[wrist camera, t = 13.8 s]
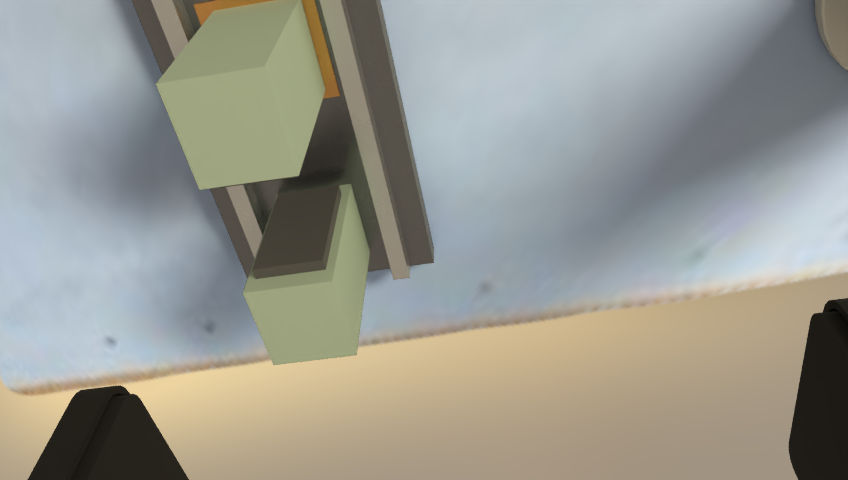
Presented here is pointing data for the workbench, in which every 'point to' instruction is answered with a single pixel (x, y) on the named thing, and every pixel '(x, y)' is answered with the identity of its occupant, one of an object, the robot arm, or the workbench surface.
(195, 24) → the dark grey tray
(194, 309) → the workbench surface
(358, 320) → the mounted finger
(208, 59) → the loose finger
